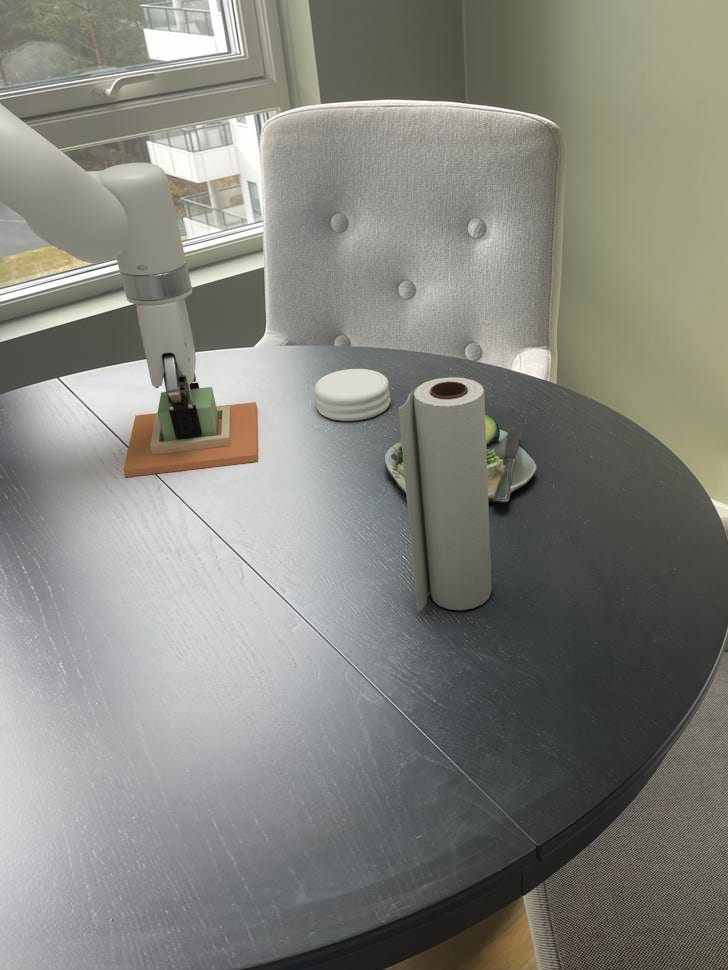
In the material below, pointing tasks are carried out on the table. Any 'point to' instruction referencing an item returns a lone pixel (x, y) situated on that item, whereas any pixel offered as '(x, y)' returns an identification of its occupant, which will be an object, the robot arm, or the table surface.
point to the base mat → (194, 443)
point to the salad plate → (503, 462)
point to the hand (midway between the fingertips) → (190, 423)
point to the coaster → (352, 394)
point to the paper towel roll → (447, 492)
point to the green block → (204, 409)
